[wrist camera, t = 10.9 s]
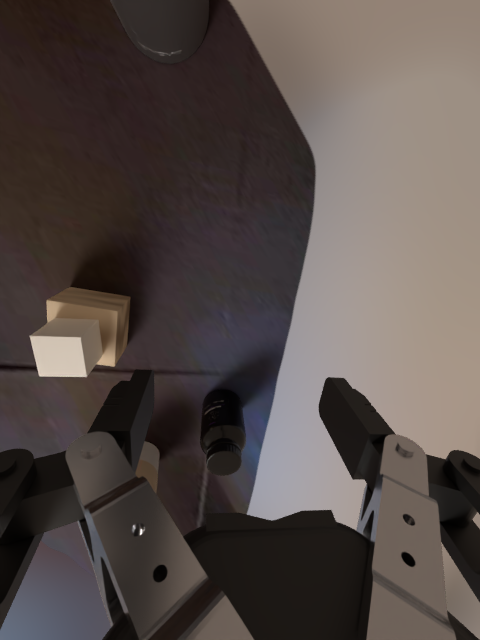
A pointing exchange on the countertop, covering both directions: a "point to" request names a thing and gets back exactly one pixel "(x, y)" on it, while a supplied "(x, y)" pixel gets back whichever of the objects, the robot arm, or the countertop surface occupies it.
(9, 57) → the countertop surface
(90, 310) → the oak block
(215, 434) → the supplement bottle
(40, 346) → the cream cube
